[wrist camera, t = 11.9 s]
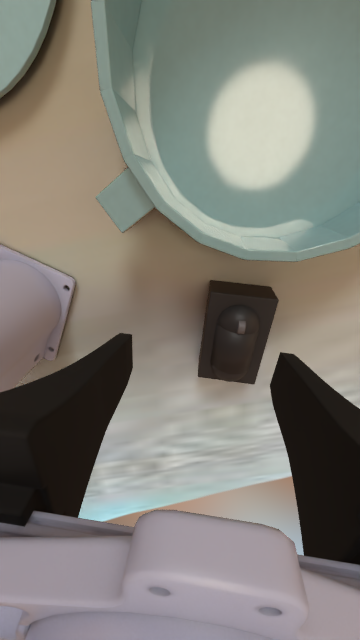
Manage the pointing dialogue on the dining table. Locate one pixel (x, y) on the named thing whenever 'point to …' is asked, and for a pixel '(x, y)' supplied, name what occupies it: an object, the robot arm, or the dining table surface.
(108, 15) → the pot
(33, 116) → the dining table surface
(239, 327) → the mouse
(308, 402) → the robot arm
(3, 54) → the lid
